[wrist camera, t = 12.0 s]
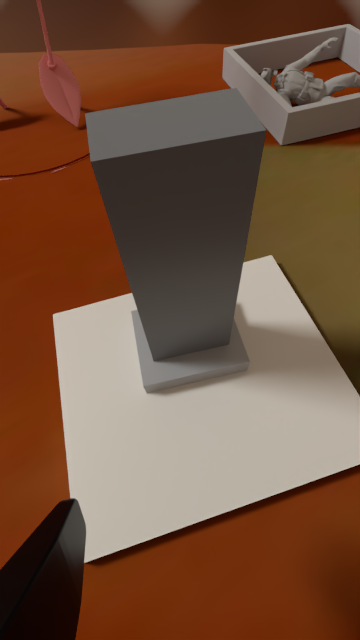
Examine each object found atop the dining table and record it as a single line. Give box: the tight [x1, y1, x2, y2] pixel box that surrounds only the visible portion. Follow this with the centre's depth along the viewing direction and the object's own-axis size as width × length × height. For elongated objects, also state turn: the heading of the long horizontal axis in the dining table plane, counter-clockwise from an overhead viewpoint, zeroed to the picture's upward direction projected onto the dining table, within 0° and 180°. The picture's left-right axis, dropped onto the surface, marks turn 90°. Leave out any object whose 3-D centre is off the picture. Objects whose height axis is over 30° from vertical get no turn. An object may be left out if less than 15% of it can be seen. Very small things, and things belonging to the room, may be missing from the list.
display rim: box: [222, 24, 360, 146], centre depth 35 cm, size 17×17×3 cm
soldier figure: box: [261, 37, 360, 106], centre depth 33 cm, size 8×5×12 cm
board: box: [53, 255, 360, 563], centre depth 19 cm, size 14×16×1 cm
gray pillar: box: [85, 88, 266, 393], centre depth 14 cm, size 5×6×13 cm
